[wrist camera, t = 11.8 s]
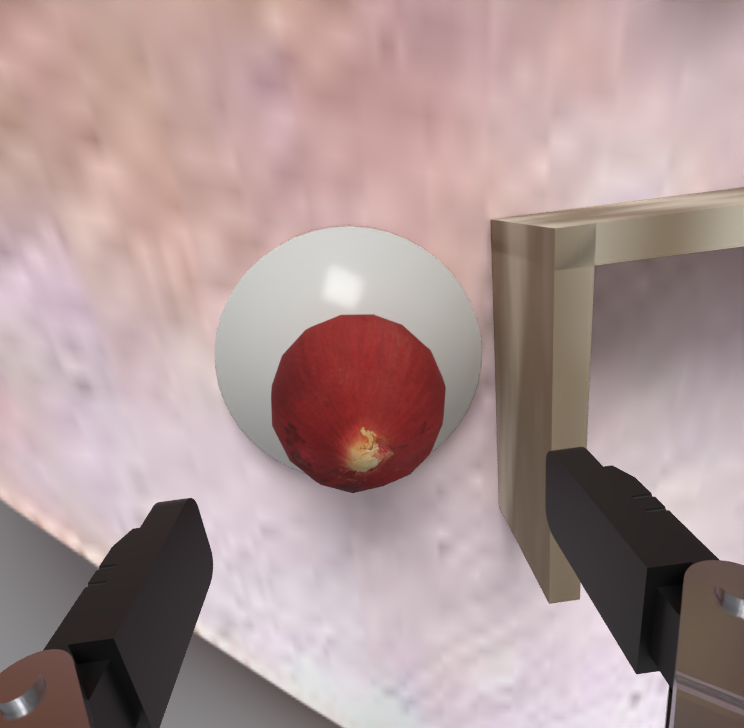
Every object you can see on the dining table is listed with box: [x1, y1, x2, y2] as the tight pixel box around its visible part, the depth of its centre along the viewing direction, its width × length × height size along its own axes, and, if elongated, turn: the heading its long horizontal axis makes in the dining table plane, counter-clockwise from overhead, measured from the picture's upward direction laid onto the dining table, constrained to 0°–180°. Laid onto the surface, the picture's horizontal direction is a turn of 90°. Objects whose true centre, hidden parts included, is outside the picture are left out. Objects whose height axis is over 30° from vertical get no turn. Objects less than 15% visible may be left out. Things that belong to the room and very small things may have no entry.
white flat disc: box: [215, 225, 482, 473], centre depth 20 cm, size 11×11×1 cm
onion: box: [271, 314, 446, 493], centre depth 16 cm, size 6×6×8 cm
